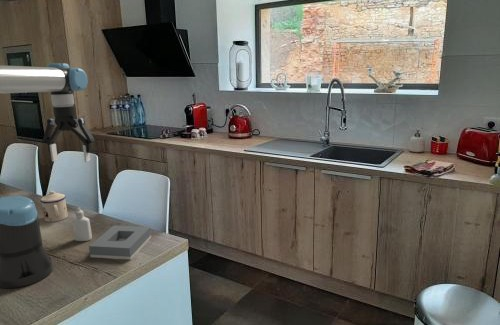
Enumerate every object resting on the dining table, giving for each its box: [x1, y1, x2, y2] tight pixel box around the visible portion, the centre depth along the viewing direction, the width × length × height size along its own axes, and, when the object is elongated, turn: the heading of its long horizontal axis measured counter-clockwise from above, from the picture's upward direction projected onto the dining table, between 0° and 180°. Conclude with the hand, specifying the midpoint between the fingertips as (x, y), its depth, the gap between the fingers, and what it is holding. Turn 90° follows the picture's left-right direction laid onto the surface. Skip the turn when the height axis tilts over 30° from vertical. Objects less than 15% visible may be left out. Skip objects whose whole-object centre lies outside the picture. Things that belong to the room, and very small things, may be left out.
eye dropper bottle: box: [71, 207, 93, 242], centre depth 136 cm, size 4×6×12 cm
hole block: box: [88, 225, 152, 261], centre depth 130 cm, size 16×14×4 cm
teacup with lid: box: [40, 190, 69, 223], centre depth 155 cm, size 12×9×12 cm
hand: (71, 161), depth 149 cm, fingers open, 13 cm apart
